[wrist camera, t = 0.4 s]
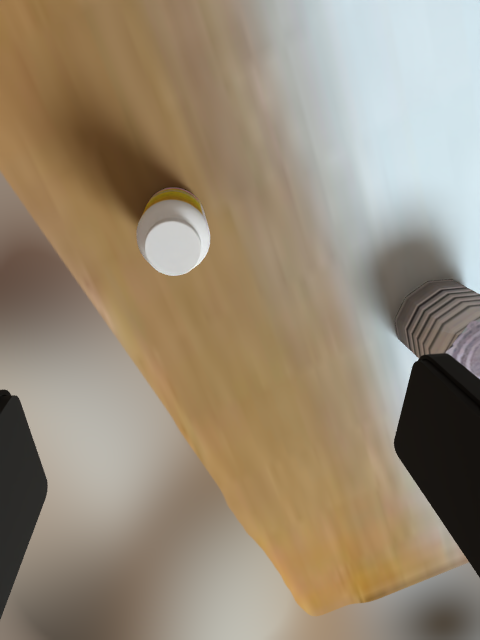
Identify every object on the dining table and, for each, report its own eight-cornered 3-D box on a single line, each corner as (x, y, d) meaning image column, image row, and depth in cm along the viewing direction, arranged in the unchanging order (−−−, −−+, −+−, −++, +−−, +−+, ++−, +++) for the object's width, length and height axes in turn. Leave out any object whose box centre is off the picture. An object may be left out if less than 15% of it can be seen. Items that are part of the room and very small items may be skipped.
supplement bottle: (135, 196, 40) (117, 220, 29) (194, 179, 40) (199, 196, 29) (157, 253, 43) (148, 295, 32) (211, 237, 43) (222, 274, 32)
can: (399, 360, 56) (451, 413, 45) (387, 296, 50) (442, 339, 40) (471, 332, 55) (541, 379, 45) (467, 265, 50) (544, 300, 39)
